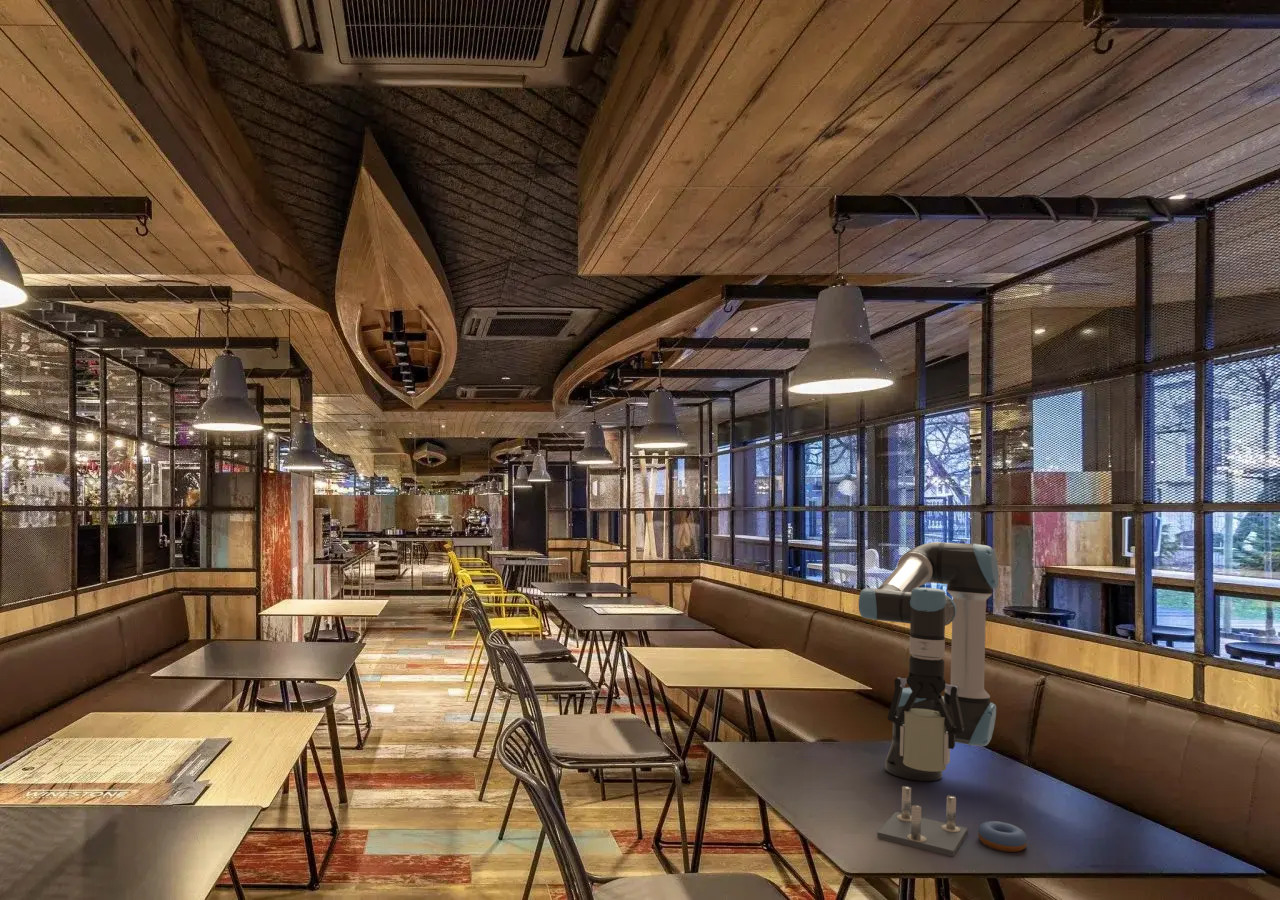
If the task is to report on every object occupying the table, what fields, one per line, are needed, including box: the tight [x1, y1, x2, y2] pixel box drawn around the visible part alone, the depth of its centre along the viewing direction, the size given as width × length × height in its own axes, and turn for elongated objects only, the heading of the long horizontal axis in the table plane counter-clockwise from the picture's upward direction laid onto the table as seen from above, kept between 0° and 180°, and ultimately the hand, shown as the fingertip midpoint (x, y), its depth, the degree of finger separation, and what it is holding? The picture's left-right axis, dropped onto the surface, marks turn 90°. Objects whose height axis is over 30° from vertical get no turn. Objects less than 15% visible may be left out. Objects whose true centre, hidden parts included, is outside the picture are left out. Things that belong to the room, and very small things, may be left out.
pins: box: [901, 785, 957, 841], centre depth 183 cm, size 14×12×7 cm
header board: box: [876, 811, 969, 857], centre depth 183 cm, size 16×16×1 cm
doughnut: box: [977, 820, 1028, 853], centre depth 181 cm, size 10×10×5 cm
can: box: [903, 708, 947, 772], centre depth 185 cm, size 9×9×12 cm
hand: (924, 758), depth 184 cm, fingers closed on can, 9 cm apart
